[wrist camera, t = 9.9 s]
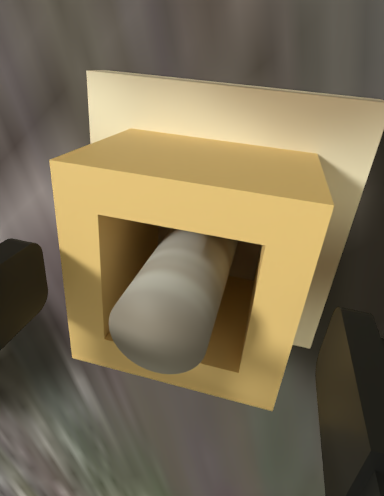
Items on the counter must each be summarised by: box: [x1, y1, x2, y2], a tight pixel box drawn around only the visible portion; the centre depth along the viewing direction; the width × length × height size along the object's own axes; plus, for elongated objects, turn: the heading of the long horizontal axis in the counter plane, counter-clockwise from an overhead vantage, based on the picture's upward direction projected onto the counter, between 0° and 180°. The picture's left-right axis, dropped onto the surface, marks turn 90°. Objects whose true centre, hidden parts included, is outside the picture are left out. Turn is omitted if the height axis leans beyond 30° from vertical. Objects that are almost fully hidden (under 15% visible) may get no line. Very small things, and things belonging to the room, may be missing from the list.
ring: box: [49, 128, 334, 411], centre depth 11 cm, size 7×7×5 cm
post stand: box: [87, 70, 384, 374], centre depth 11 cm, size 10×10×8 cm
